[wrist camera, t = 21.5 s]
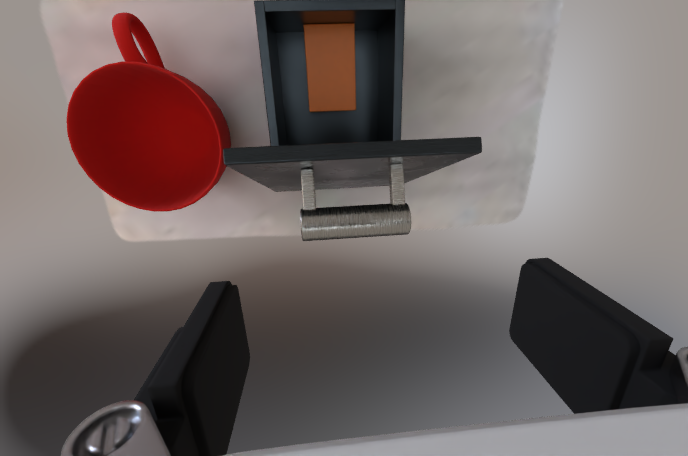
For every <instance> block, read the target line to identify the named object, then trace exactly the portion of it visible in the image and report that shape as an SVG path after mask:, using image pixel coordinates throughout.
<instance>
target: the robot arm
mask: <svg viewBox="0 0 688 456" xmlns="http://www.w3.org/2000/svg"><path fill="white" fill-rule="evenodd" d="M509 331H510V336H511V339H512V340H513V342H514V343H515V344H516V345H517V347H518V348H519V349H520V350H521V351H522V352H523V354H524V355H525V356H526V357H527V358H528V360H529V361H530V362H531V363H532V364H533V365H534V367H535V368H536V369H537V370H538V371H539V372H540V374H541V375H542V376H543V377H544V378H545V380H546V381H547V382H548V383H549V384H550V386H551V387H552V388H553V389H554V390H555V391H556V393H557V394H558V395H559V396H560V397H561V398H562V400H563V401H564V402H565V403H566V404H567V406H568V407H569V408H570V409H571V410H572V411H573V413H574V414H568V415H558V416H549V417H539V418H529V419H520V420H511V421H503V422H493V423H483V424H474V425H465V426H456V427H446V428H437V429H428V430H420V431H411V432H401V433H393V434H384V435H375V436H367V437H358V438H350V439H340V440H332V441H323V442H315V443H307V444H299V445H291V446H284V447H277V448H268V449H261V450H253V451H246V452H239V453H234V454H227V455H226V453H227V450H228V445H229V442H230V438H231V434H232V430H233V426H234V422H235V418H236V414H237V410H238V406H239V403H240V399H241V395H242V390H243V386H244V382H245V379H246V375H247V371H248V367H249V361H250V353H249V347H248V341H247V336H246V330H245V325H244V319H243V313H242V309H241V302H240V297H239V291H238V287H237V285H232V284H231V282H230V281H222V282H211V283H210V284H209V285H208V287H207V288H206V290H205V292H204V294H203V295H202V297H201V299H200V300H199V302H198V303H197V305H196V307H195V308H194V310H193V312H192V313H191V315H190V317H189V318H188V320H187V322H186V323H185V325H184V327H181V328H179V329H178V330H177V332H176V333H175V334H174V336H173V337H172V339H171V341H170V342H169V344H168V346H167V347H166V349H165V350H164V352H163V354H162V355H161V357H160V358H159V360H158V362H157V363H156V365H155V366H154V368H153V370H152V371H151V373H150V375H149V376H148V378H147V379H146V381H145V383H144V384H143V386H142V387H141V389H140V391H139V392H138V394H137V396H136V397H135V399H134V400H129V401H122V402H118V403H114V404H112V405H109V406H107V407H105V408H103V409H100V410H99V411H97V412H96V413H94V414H92V415H91V416H89V417H88V418H87V419H86V420H84V421H83V422H82V423H81V424H80V425H79V426H78V427H76V429H75V430H74V431H73V432H72V433H71V435H70V436H69V437H68V438H67V440H66V442H65V444H64V446H63V448H62V453H61V456H688V347H684V348H681V349H680V350H679V351H678V352H677V354H676V355H674V354H673V353H671V352H670V351H668V350H669V347H670V345H671V343H672V341H673V338H672V337H670V336H668V335H667V334H665V333H664V332H662V331H661V330H659V329H658V328H656V327H655V326H653V325H652V324H650V323H648V322H647V321H645V320H644V319H642V318H640V317H639V316H638V315H636V314H634V313H633V312H631V311H630V310H628V309H627V308H625V307H624V306H622V305H621V304H619V303H617V302H616V301H614V300H613V299H611V298H610V297H608V296H607V295H605V294H603V293H602V292H600V291H599V290H597V289H596V288H594V287H593V286H591V285H589V284H588V283H586V282H585V281H583V280H582V279H580V278H579V277H577V276H576V275H574V274H573V273H571V272H569V271H568V270H566V269H564V268H563V267H562V266H560V265H559V264H557V263H555V262H554V261H552V260H551V259H549V258H538V259H529V260H527V262H526V263H525V264H524V265H522V267H521V271H520V277H519V282H518V287H517V292H516V298H515V303H514V308H513V314H512V319H511V324H510V330H509Z"/></svg>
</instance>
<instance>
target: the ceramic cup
mask: <svg viewBox="0 0 688 456" xmlns="http://www.w3.org/2000/svg"><path fill="white" fill-rule="evenodd" d="M112 28H113V33H114V36H115V39H116V42H117V45H118V47H119V49H120V52H121V54H122V56H123V58H124V60H125V62H118V63H113V64H108V65H105V66H103V67H101V68H99V69H96V70H94V71H93V72H91V73H90V74H89V75H88V76H87V77H85V78H84V79H83V80H82V81H81V82H80V84H79V85H78V86H77V88H76V89H75V90H74V92H73V95H72V97H71V100H70V102H69V105H68V112H67V132H68V137H69V141H70V144H71V148H72V150H73V152H74V154H75V156H76V158H77V160H78V162H79V164H80V165H81V167H82V168H83V170H84V171H85V172H86V174H87V175H88V176H89V177H90V178H91V179H92V181H94V183H95V184H96V185H98V187H99V188H101V189H102V190H103V191H105V192H106V193H107V194H109V195H110V196H111V197H113V198H115V199H117V200H119V201H121V202H123V203H124V204H127V205H130V206H133V207H136V208H139V209H143V210H149V211H172V210H177V209H182V208H184V207H186V206H189V205H191V204H194V203H195V202H197V201H198V200H200V199H201V198H202V197H204V196H205V195H206V194H207V193H208V192H209V191H210V190H211V189H212V188H213V187H214V186H215V185H216V184H217V182H218V181H219V179H220V178H221V176H222V174H223V172H224V171H225V169H226V167H227V166H226V165H224V158H223V149H224V148H231V140H230V132H229V128H228V125H227V122H226V120H225V118H224V116H223V114H222V112H221V110H220V108H219V107H218V106H217V104H216V103H215V102H214V100H213V99H212V98H211V97H210V96H209V95H208V94H207V93H206V92H205V91H204V90H203V89H201V88H200V87H199V86H197V85H196V84H194V83H193V82H191V81H190V80H188V79H186V78H185V77H183V76H180V75H178V74H176V73H173V72H171V71H169V70H167V69H165V68H164V65H163V63H162V60H161V58H160V55H159V53H158V50H157V48H156V46H155V44H154V41H153V39H152V38H151V36H150V34H149V32H148V31H147V29H146V28H145V26H144V25H143V23H142V22H141V21H140V20H139V19H138V18H137V17H136V16H134V15H133V14H130V13H118V14H116V15H115V16H114V17H113V20H112ZM131 32H132V33H133V35H134V36H135V38H136V40H137V41H138V43H139V45H140V47H141V49H142V51H143V53H144V56H145V58H146V60H147V62H146V60H145V59H144V58H143V57H142V55H141V54H140V52H139V50H138V48H137V46H136V44H135V42H134V39H133V36H132V33H131Z"/></svg>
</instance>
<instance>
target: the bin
mask: <svg viewBox="0 0 688 456" xmlns="http://www.w3.org/2000/svg"><path fill="white" fill-rule="evenodd" d="M254 5H255V14H256V23H257V31H258V40H259V48H260V57H261V66H262V74H263V83H264V91H265V100H266V109H267V117H268V126H269V134H270V143H271V146H286V145H308V144H330V143H353V142H375V141H397V140H401V112H402V79H403V47H404V15H405V0H264V1H254ZM342 23H354V24H355V76H356V110H349V111H323V112H310V111H309V98H308V84H307V70H306V55H305V41H304V27H303V25H304V24H342Z"/></svg>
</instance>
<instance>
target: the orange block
mask: <svg viewBox="0 0 688 456" xmlns="http://www.w3.org/2000/svg"><path fill="white" fill-rule="evenodd" d="M303 27H304V41H305V55H306V70H307V84H308V98H309V111H310V112H323V111H349V110H356V76H355V24H354V23H342V24H304V25H303Z"/></svg>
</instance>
